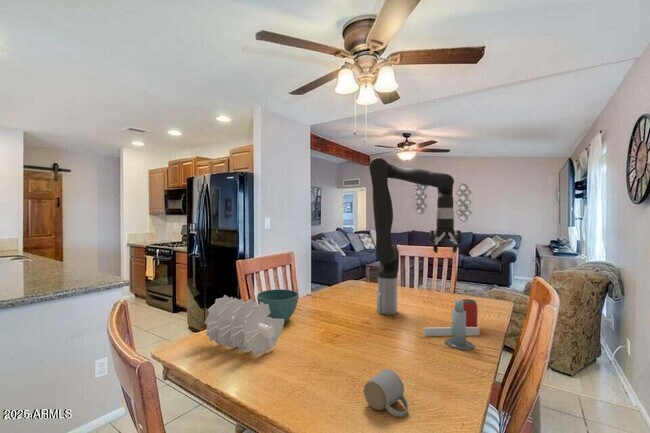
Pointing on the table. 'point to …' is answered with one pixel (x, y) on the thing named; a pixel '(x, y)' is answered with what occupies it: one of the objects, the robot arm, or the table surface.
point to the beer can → (470, 312)
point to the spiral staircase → (243, 325)
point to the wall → (448, 331)
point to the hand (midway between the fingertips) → (444, 252)
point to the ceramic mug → (385, 392)
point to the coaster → (466, 347)
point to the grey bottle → (459, 324)
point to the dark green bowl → (279, 303)
